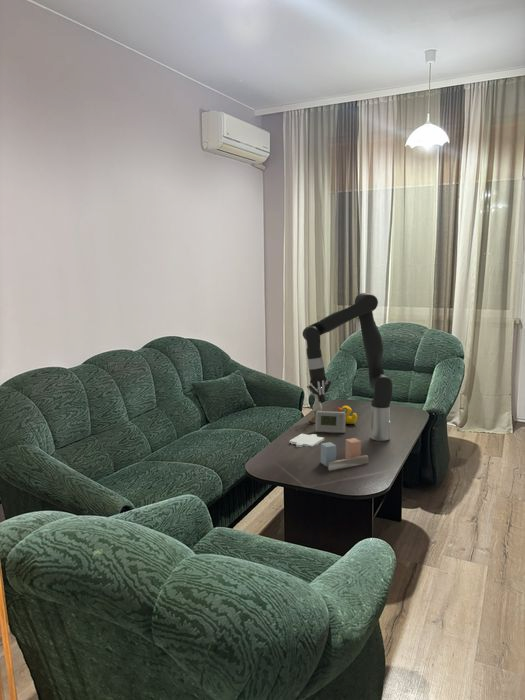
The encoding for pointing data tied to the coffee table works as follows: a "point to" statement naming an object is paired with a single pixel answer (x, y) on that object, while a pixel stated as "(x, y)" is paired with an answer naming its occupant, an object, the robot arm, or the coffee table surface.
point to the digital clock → (330, 421)
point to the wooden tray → (347, 462)
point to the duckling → (348, 410)
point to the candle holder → (315, 408)
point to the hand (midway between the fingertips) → (321, 402)
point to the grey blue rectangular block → (328, 453)
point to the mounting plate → (306, 440)
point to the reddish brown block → (353, 448)
